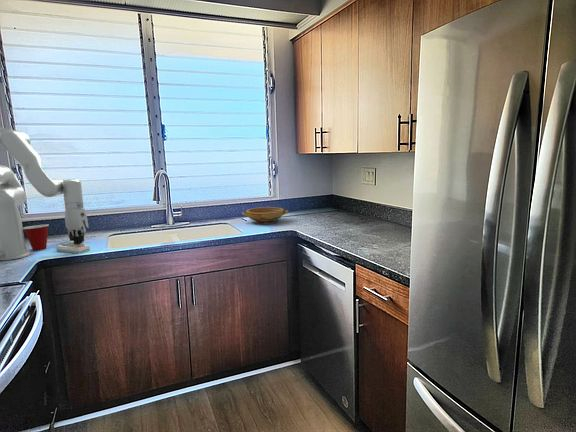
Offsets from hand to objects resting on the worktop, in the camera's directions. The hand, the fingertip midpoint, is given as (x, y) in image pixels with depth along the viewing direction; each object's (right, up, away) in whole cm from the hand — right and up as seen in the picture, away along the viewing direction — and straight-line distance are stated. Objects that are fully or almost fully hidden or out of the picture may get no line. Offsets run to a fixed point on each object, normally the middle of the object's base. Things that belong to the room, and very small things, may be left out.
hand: (78, 243), depth 175 cm
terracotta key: (+1, -2, +1) cm, 3 cm away
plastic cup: (-24, -3, +7) cm, 25 cm away
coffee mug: (-12, -1, +20) cm, 23 cm away
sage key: (-4, -1, +2) cm, 4 cm away
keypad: (-4, -3, +3) cm, 6 cm away
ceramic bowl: (+86, +9, +60) cm, 105 cm away
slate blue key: (-8, -2, +4) cm, 9 cm away
